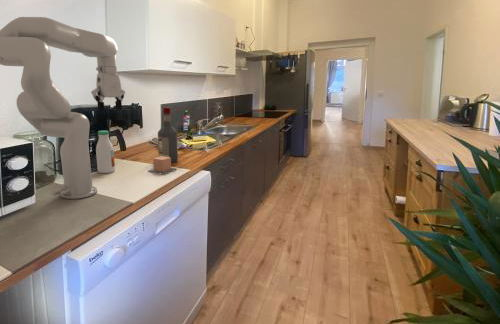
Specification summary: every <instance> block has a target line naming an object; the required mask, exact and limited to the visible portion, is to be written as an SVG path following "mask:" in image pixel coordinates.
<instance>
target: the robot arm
mask: <svg viewBox="0 0 500 324" xmlns="http://www.w3.org/2000/svg"><path fill="white" fill-rule="evenodd" d="M50 47H52V48H55V49H60V50H63V51H67V52H70V53H78V54H82V55H84V57H87V58H96V62H97V67H96V68H95V70H96V71H97V74H96V83H95V84H96V85H95V87H96V88H94V89H93V90H92V91H91V95H92V97H93V99H94V100H95V102H96V103H97V111H98V112H105V102H104V100H105V98H114V99H115V109H116V111H117V110H118V111H122V110H123V105H122V104H123V103H122V102H123V99H124V98H125V94H126V91H125V90H123V89H122V84H121V79H120V75H119V74H118V69H117V58H116V57H117V53H118V46H117V43H116V42H115V40H114V39H113V38H112V37H110V36H107V35H104V34H101V33H99V32H94V31H90V30H86V29H82V28H81V29H80V28H77V27H73V26H70V25H68V24H66V23H62V22H60V21H58V20H55V19H52V18H49V17H45V16H43V17H42V16H19V17H17V18H14V19H13V20H11V21H9V22H8V23H6V24H5V26H3V28H1V29H0V65H2V66H6V67H23V68H22V69H23V70H22V74H21V79H20V86H21V89H22V92H20V93H19V94H18V95H17V98H16V107H17V111H18V112H19V114H20V115H21V116H22V117H23V118H24V119H25V120H26V121H27V122H28V123H29V124H30V125H31V126H32V127H33V128H34V129H36V130H37V132H39V133H40V134H41V135H43V136H46V137H50V138H51V137H52V138H63V142H62V143H61V146H60V150H59V151H60V152H59V153H60V160H61V162H60V163H61V169H62V178H63V184H61V187H59V188H58V189H53V190H52V191H51V194H52V196H57V195H60V197H61V198H63V199H67V200H69V199H71V200H75V199H84V198H88V197H91V196H93V195H95V194H97V192H98V187H96V186H94V185H93V177H92V168H91V158H90V157H91V156H90V147H89V146H90V145H89V136H90V128H91V127H90V126H91V125H90V120H89V118H88V117H87V116H86V115H85V114H83V113H81V112H80V113H79V112H76V111H75V112H74V111H72V108H71V104H70V102H69V101H68V99H67V98H66V97H65V95H64V94H63V93H62V92H61V90H60V89H59V88H58V86H57V85H56V84H55V83H54V81H53V80H52V78H51V75H50V70H51V69H50V65H51V57H52V56H51V50H50Z"/></svg>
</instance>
